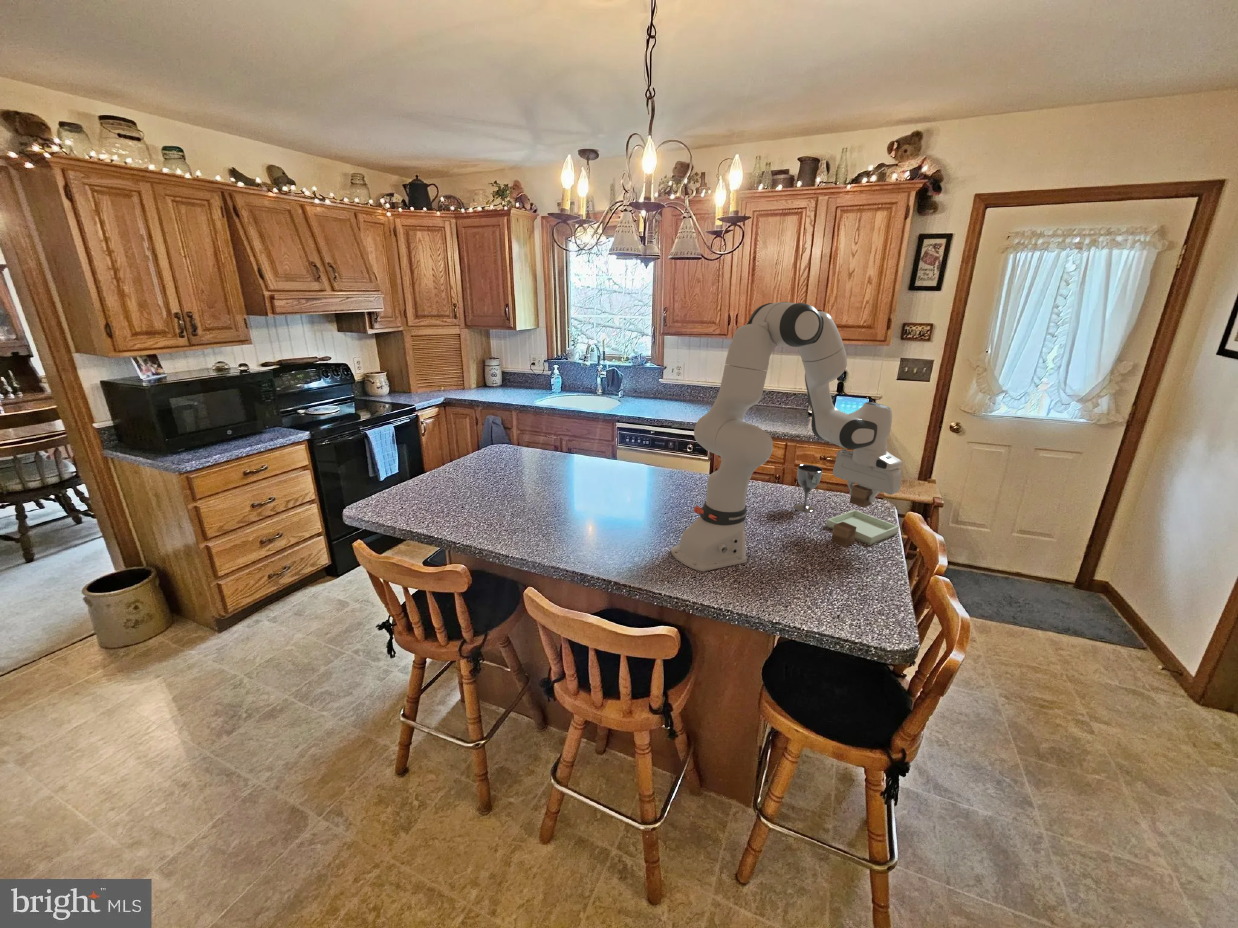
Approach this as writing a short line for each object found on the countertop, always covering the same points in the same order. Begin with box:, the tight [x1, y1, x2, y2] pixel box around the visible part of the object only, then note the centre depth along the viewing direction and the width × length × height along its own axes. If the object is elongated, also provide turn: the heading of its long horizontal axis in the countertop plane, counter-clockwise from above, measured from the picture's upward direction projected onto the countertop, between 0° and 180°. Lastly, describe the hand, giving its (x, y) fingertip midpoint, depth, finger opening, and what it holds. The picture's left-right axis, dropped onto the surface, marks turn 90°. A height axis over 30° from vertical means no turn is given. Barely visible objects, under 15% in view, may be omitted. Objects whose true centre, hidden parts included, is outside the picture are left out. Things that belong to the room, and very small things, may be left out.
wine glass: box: [793, 463, 823, 513], centre depth 173 cm, size 8×8×15 cm
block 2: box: [849, 484, 874, 508], centre depth 154 cm, size 4×4×6 cm
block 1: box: [830, 522, 856, 548], centre depth 150 cm, size 4×4×6 cm
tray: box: [825, 509, 900, 546], centre depth 159 cm, size 15×15×2 cm
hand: (861, 498), depth 154 cm, fingers closed on block 2, 4 cm apart
